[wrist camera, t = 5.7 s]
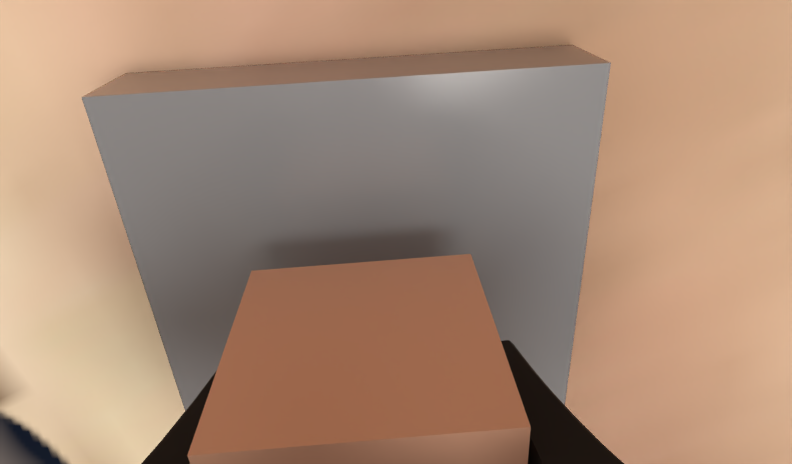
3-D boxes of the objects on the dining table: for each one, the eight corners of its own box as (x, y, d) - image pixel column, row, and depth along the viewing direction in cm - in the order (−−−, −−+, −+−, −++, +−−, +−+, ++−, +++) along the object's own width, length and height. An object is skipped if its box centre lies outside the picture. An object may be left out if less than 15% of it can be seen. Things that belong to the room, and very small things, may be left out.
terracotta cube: (469, 411, 15) (514, 612, 10) (285, 426, 14) (251, 635, 10) (470, 253, 12) (530, 427, 8) (251, 270, 12) (187, 455, 8)
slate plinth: (535, 368, 21) (561, 430, 18) (222, 393, 20) (201, 459, 18) (566, 42, 15) (610, 62, 12) (132, 69, 15) (81, 97, 12)
